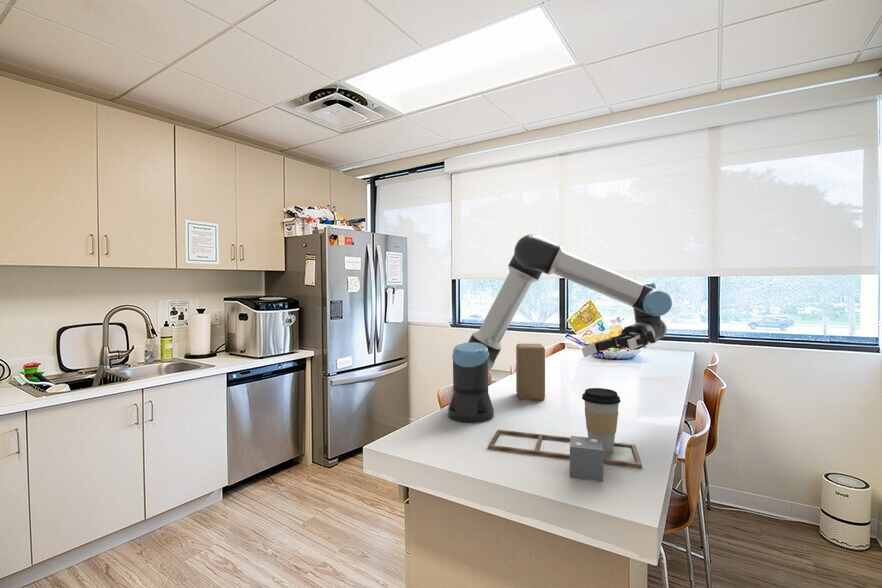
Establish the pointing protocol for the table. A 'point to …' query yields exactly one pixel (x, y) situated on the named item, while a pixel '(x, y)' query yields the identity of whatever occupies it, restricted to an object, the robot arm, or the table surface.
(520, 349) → the wooden block
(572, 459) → the die
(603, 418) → the coffee cup
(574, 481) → the table surface
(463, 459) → the table surface
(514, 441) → the table surface
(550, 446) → the table surface
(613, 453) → the wooden frame
